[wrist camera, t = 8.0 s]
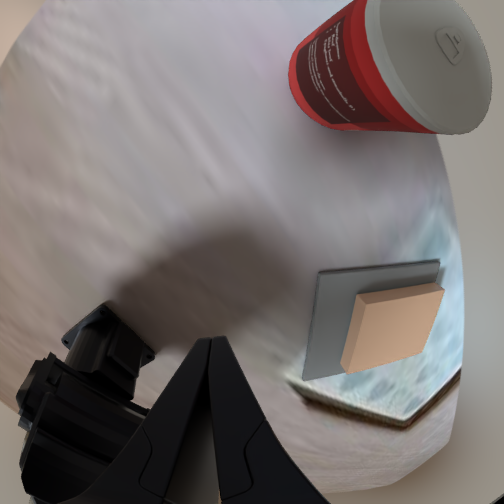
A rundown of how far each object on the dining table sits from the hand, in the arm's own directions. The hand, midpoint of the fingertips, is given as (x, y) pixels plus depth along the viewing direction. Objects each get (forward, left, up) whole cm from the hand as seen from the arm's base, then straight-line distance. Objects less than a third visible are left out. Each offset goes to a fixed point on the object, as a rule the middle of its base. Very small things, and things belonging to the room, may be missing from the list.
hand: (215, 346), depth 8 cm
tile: (+5, -15, -11) cm, 19 cm away
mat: (+7, -17, -12) cm, 22 cm away
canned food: (+14, +4, -13) cm, 19 cm away
